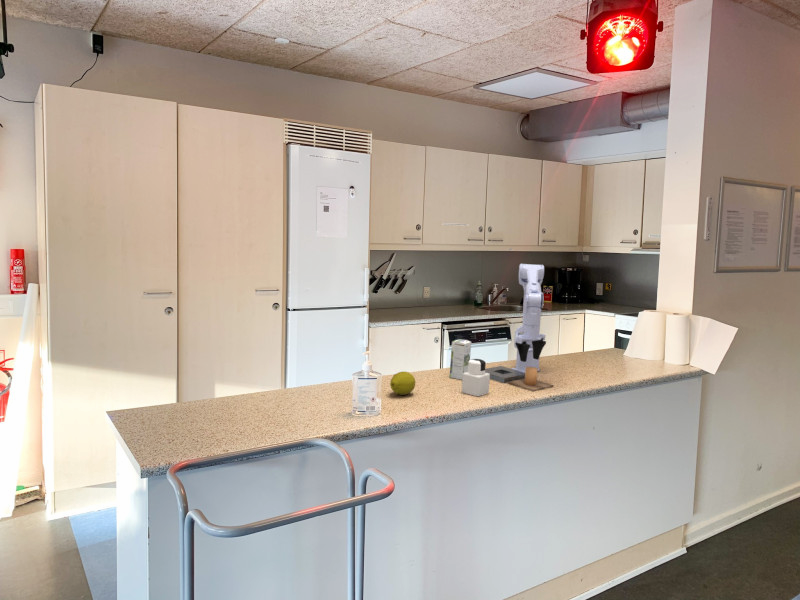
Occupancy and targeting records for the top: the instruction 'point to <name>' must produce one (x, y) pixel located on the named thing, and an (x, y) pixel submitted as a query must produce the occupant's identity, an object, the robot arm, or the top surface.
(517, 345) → the robot arm
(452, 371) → the syrup box
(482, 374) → the medicine bottle
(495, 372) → the socket block
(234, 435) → the top surface
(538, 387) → the walnut board
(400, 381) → the lemon
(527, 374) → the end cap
